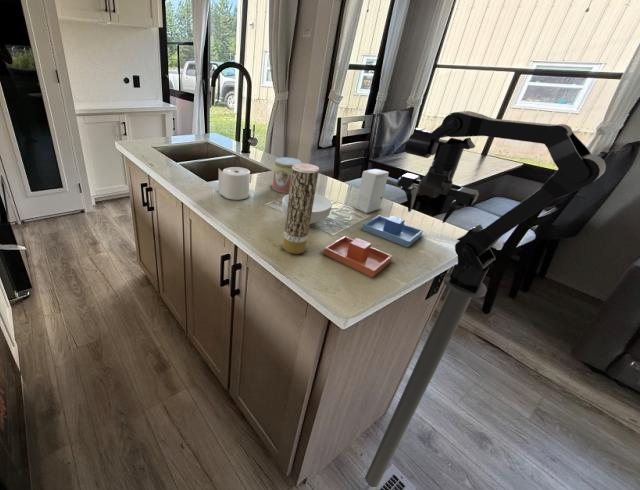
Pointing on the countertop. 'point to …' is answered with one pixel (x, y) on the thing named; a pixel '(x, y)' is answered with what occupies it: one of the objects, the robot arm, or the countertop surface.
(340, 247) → the clay tray
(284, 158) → the canned food
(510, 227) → the robot arm
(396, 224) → the blue block
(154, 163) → the countertop surface
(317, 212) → the cereal bowl
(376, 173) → the cosmetic box
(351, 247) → the clay block
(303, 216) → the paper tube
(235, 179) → the toilet tissue
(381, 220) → the blue tray
